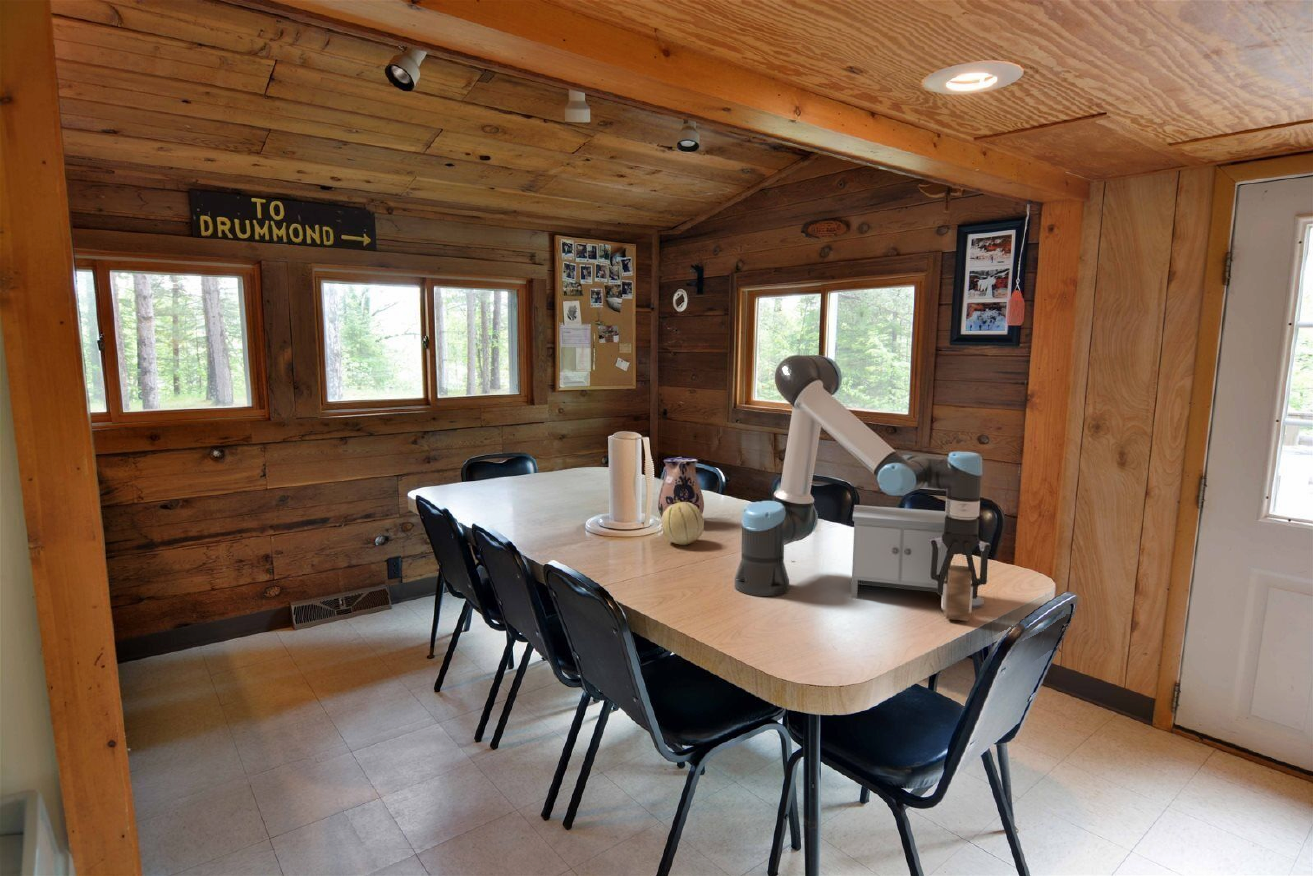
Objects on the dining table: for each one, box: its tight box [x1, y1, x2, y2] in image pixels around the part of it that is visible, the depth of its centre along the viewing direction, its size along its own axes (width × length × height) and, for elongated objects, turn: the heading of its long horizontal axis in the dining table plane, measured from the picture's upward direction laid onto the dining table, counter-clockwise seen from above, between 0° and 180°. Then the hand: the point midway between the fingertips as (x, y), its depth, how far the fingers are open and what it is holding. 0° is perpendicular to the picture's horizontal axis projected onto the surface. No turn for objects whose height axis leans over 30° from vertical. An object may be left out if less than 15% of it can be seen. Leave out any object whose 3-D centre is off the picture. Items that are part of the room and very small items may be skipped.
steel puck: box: [972, 594, 985, 610], centre depth 179 cm, size 7×7×2 cm
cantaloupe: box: [660, 500, 705, 546], centre depth 234 cm, size 15×15×15 cm
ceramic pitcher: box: [657, 456, 705, 518], centre depth 262 cm, size 18×21×25 cm
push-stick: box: [942, 564, 972, 622], centre depth 175 cm, size 5×20×12 cm, turn 165°
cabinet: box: [850, 504, 952, 599], centre depth 184 cm, size 25×16×22 cm, turn 72°
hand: (956, 609), depth 168 cm, fingers closed on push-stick, 5 cm apart
